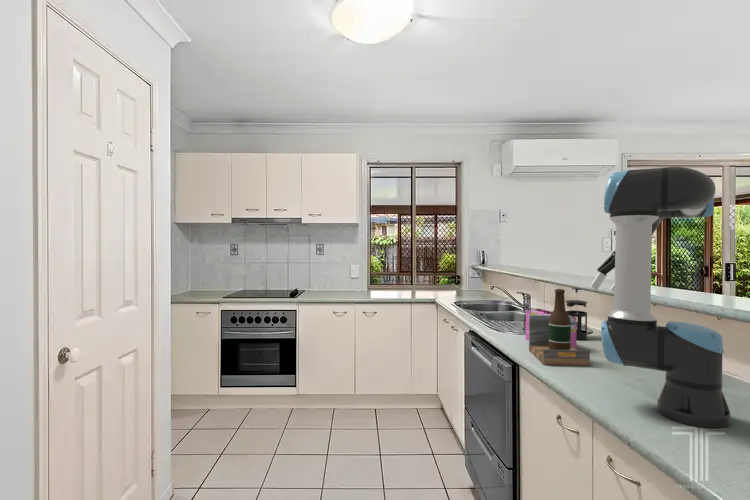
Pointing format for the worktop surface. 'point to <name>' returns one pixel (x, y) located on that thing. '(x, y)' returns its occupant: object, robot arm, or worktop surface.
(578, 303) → the french press
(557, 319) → the beer bottle
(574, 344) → the gum box
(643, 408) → the worktop surface
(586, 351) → the shelf
